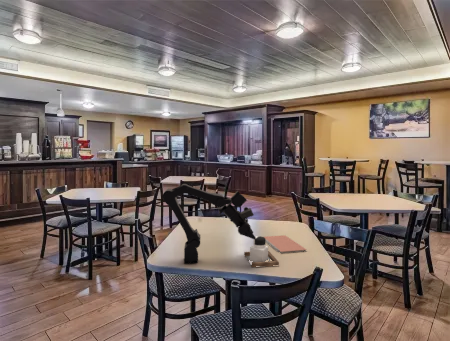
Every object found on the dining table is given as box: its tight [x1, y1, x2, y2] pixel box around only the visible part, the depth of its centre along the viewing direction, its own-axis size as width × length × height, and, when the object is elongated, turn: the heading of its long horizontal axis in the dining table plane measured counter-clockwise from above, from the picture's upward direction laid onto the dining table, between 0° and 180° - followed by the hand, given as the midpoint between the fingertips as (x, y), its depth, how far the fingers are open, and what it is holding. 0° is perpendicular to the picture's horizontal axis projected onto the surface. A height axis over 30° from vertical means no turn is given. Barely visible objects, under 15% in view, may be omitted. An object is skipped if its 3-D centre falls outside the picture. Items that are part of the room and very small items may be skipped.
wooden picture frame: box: [243, 250, 280, 268], centre depth 151 cm, size 14×16×2 cm
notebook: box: [263, 234, 307, 254], centre depth 176 cm, size 27×17×2 cm, turn 14°
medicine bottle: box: [249, 235, 269, 262], centre depth 150 cm, size 7×7×12 cm
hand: (253, 235), depth 149 cm, fingers open, 9 cm apart
